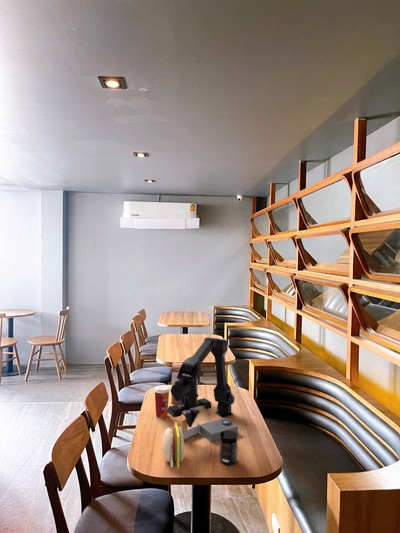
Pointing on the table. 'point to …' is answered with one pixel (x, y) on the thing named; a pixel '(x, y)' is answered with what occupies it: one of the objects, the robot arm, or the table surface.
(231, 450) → the supplement container
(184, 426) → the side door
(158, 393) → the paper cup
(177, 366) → the cracker box
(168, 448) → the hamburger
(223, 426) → the box with round button
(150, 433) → the table surface
